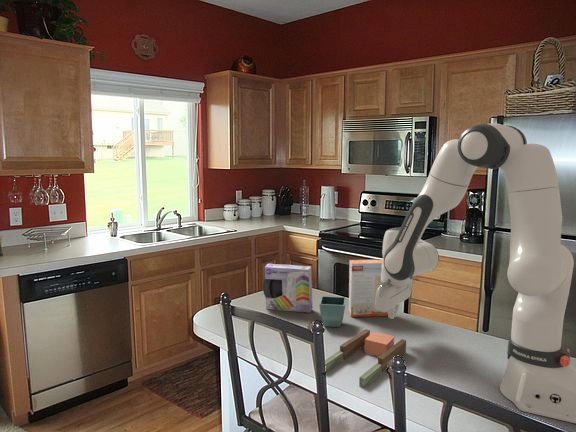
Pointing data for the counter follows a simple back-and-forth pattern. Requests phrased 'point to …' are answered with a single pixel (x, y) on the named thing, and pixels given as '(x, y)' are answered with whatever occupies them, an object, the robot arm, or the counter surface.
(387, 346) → the orange block
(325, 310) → the flower pot
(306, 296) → the cake pan box
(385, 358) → the parallel rails
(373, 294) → the cracker box
